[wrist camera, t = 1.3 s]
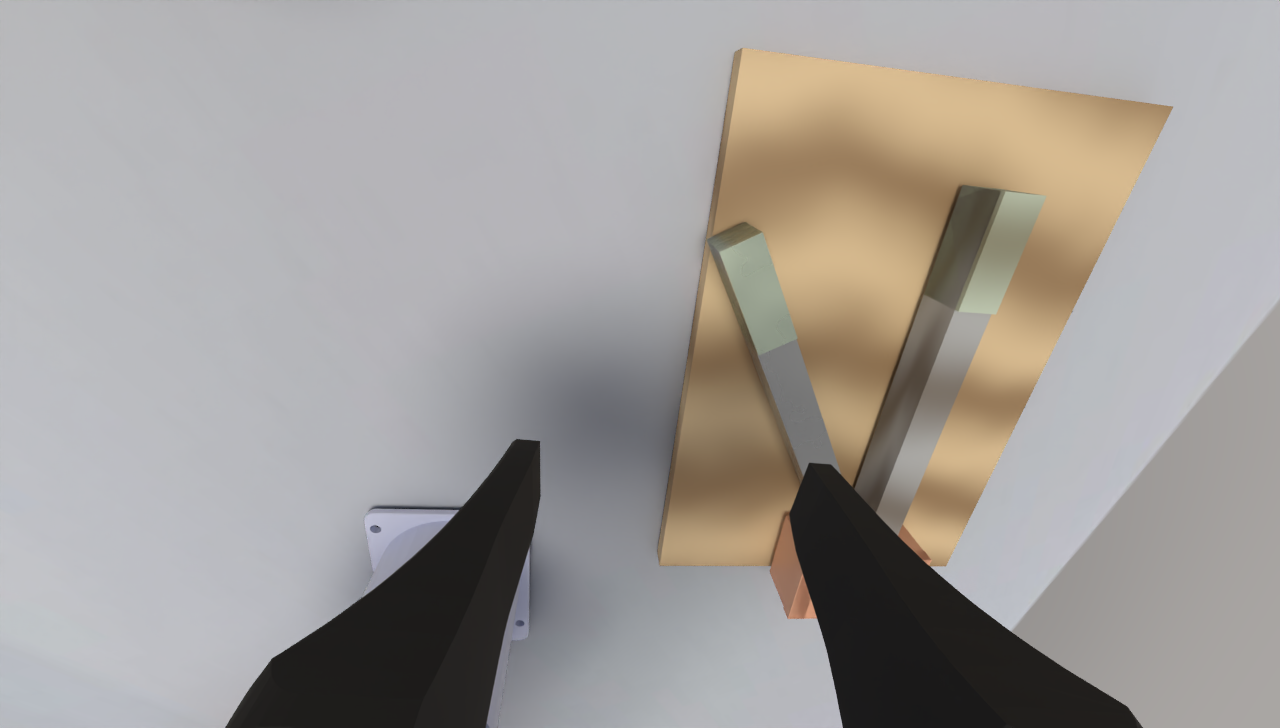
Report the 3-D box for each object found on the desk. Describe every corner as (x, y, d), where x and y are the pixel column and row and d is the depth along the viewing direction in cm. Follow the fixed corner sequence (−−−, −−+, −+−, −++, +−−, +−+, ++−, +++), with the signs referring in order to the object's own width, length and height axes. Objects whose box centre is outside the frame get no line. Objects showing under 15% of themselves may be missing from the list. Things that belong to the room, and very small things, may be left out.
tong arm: (834, 485, 25) (855, 515, 23) (805, 497, 25) (823, 528, 23) (744, 221, 19) (762, 231, 17) (706, 239, 19) (719, 252, 17)
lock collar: (875, 571, 28) (933, 662, 23) (768, 571, 27) (806, 665, 22) (897, 517, 26) (966, 603, 21) (785, 515, 25) (830, 604, 21)
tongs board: (935, 552, 30) (975, 603, 27) (657, 551, 28) (665, 605, 25) (1146, 107, 20) (1252, 103, 17) (734, 52, 18) (766, 35, 14)
